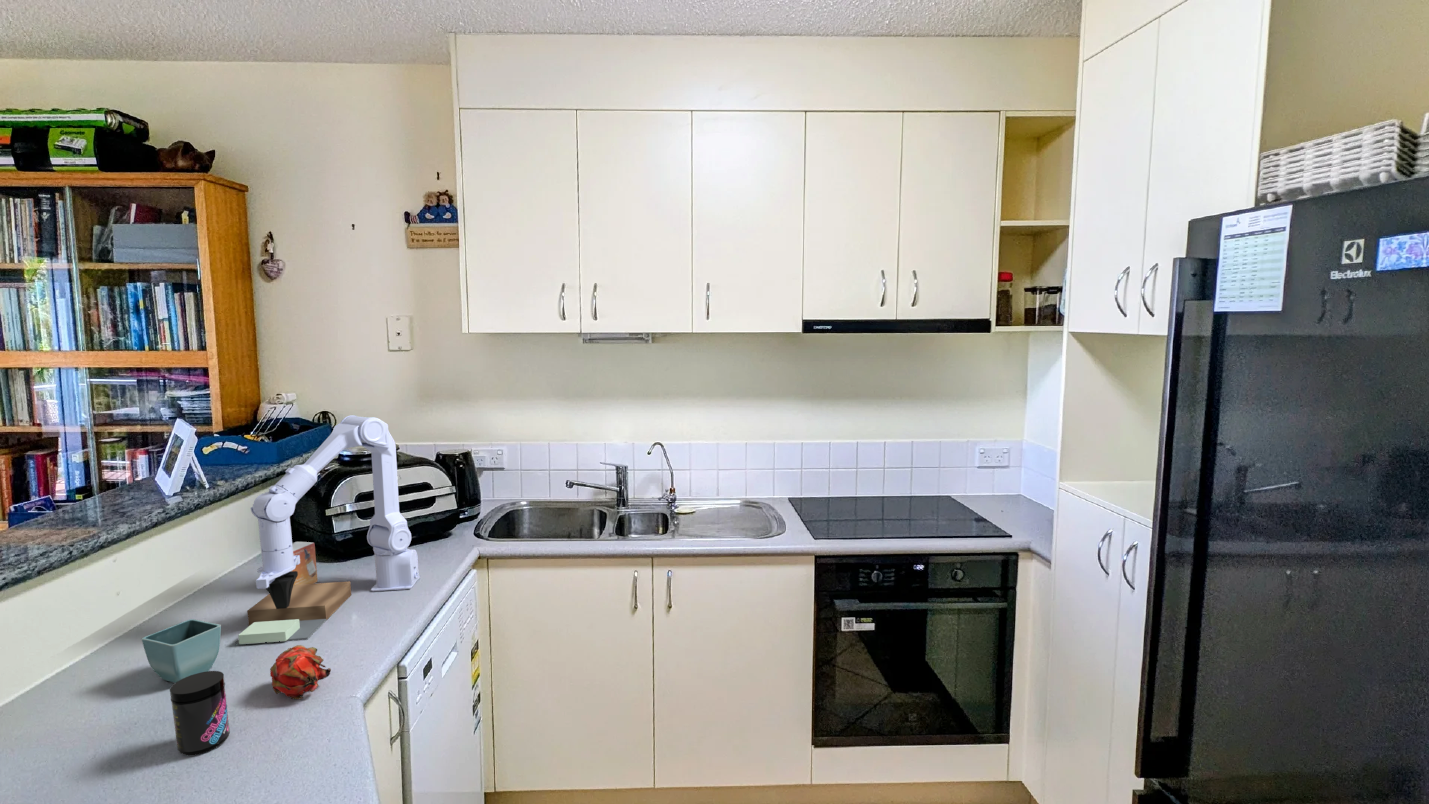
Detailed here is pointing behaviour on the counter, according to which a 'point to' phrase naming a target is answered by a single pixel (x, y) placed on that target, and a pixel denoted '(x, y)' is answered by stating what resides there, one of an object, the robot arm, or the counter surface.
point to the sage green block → (269, 631)
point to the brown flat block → (303, 603)
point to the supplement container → (200, 712)
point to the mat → (304, 629)
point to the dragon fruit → (297, 671)
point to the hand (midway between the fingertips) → (282, 607)
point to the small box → (305, 563)
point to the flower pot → (183, 649)
